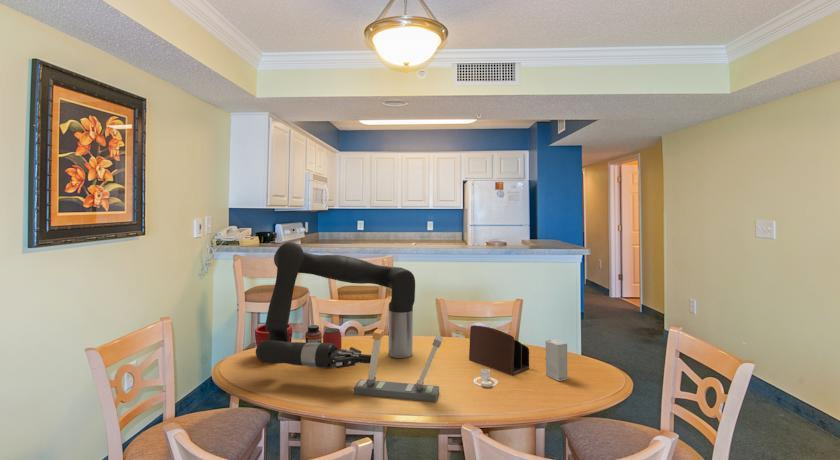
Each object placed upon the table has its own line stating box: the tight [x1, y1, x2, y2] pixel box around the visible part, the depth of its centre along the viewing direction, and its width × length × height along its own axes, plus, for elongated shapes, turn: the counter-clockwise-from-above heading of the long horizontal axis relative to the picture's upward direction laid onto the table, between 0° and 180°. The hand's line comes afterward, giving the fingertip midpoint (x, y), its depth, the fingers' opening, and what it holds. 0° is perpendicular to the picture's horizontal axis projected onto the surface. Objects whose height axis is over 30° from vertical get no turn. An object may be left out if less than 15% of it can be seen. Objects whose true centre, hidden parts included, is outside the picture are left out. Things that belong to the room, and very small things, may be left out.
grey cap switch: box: [415, 334, 444, 390], centre depth 125 cm, size 4×2×16 cm, turn 169°
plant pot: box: [254, 322, 293, 347], centre depth 156 cm, size 13×13×12 cm
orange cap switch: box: [366, 328, 385, 386], centre depth 128 cm, size 4×2×16 cm, turn 169°
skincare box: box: [545, 338, 568, 382], centre depth 140 cm, size 6×4×12 cm
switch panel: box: [353, 379, 440, 403], centre depth 127 cm, size 6×25×2 cm, turn 79°
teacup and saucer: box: [473, 368, 499, 388], centre depth 136 cm, size 9×8×4 cm
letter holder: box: [468, 325, 530, 377], centre depth 152 cm, size 10×20×14 cm, turn 41°
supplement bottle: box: [305, 324, 323, 343], centre depth 160 cm, size 6×6×11 cm
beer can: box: [322, 327, 342, 350], centre depth 152 cm, size 7×7×12 cm
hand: (371, 359), depth 128 cm, fingers closed
